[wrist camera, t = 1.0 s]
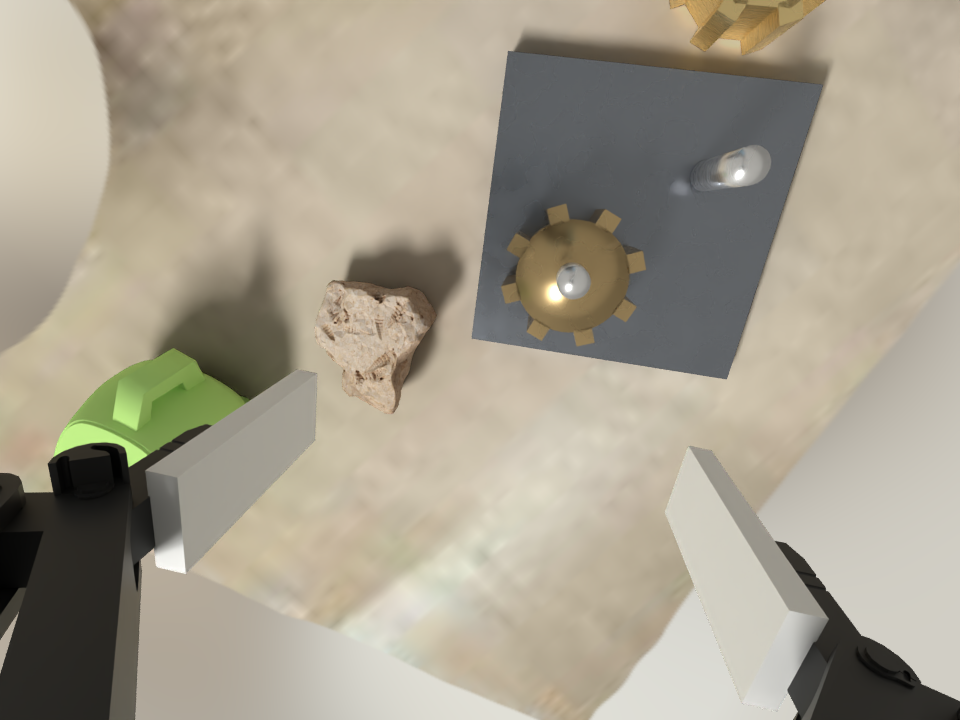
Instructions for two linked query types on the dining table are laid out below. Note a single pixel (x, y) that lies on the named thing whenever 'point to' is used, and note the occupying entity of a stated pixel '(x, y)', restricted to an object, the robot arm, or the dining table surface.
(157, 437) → the teapot
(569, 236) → the plate
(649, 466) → the dining table surface
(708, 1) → the planet gear
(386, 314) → the stone
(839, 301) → the dining table surface
